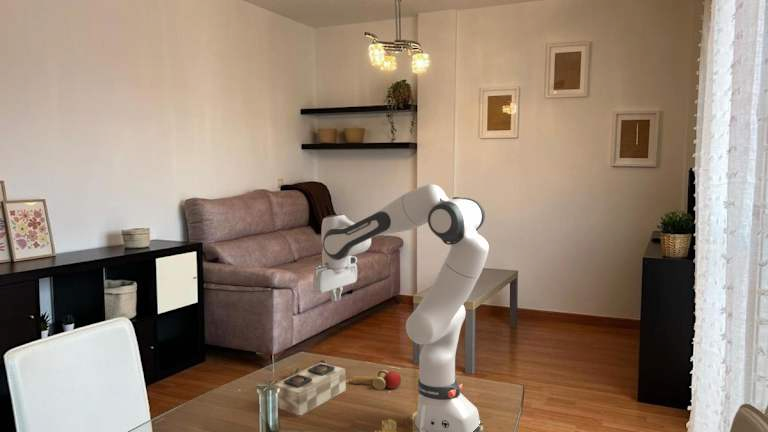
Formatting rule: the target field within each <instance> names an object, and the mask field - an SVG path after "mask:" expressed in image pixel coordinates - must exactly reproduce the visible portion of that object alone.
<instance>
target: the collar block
mask: <svg viewBox="0 0 768 432" xmlns="http://www.w3.org/2000/svg"><path fill="white" fill-rule="evenodd" d="M316 363H317V364H316ZM316 363H315V364H313V365H312V366H309V367H307V368H305V369H302V370H303V371H300V372H298V373H296V374H294V375H292V376H290V375H289V376H288V377H286V378H284V379H281V380H280V381H278V382H276V383H275V382H274V383H273V384H272V386H273V385H277V386H279V387H280V392H279V405H280V408H282V409H284V410H287V411H289V412H292V413H295V414H297V415H296V416H298V415H301V416H303V415H305V414H307V413H309V412H310V411H312V410H314V409H315V408H317V407H319V406H321V405H323V404H324V403H326V402H327V401H329V400H331V399H333V398H336V396H338V395H340V394H342V393H344V392H345V391H347V384H346V383H347V380H346V368H344V367H339V366H337V365H336V366H335V365H333V364H332V365H331V364H329V363H328V364H327V363H321V362H320V363H318V362H316ZM320 366H325V367H327V369H326V370H324V371H318V370H316V368H317V367H320ZM298 377H301V378H304V381H302V382H300V383H295V382H292V379H294V378H298ZM289 412H288V413H289ZM292 413H291V414H292ZM295 414H294V415H295Z"/></svg>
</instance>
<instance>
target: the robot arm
mask: <svg viewBox="0 0 768 432" xmlns="http://www.w3.org/2000/svg"><path fill="white" fill-rule="evenodd" d="M485 219H486V213H485V209H484V207H483V206H482V204H481V203H480V202H478V201H477V200H475V199H471V198H470V197H469V198H468V197H459V196H458V197H457V196H454V197H453V198H449V197H448V196H447V195H446V193H445V191H444V189H442V188H441V187H440V186H439V185H437V184H434V183H429V184H425V185H422V186H419V187H416V188H414V189H412V190H409V191H408V192H406V193H404V194H402V195H399V197H397V198H396V199H394V200H392V201H391V202H389V203H388V204H387V205H385V206H384V207H382V208H380V209H378V210H377V211H376V212H374V213H372V214H371V215H369V216H367V217H366V218H363V219H362V220H359V221H357V222H353V221H351V220H350V219H349V218H348V217H347V216H346V215H345V214H343V213H339V214H333V215H327V216H325V217H324V218H323V219H322V221H321V222H322V223H321V231H320V232H321V235H320V236H321V244H322V250H321V259H322V260H321V262H322V264H318V265H317V266H316V268H315V269H314V271H313V272H314V273H313V276H312V277H313V278H312V290H313V292H314V293H317V294H324V293H327V292H328V293H329V295H330V296H331V301H332V302H336V301H340V300H341V297H342V295H341V294H342V293H343V289H344V287H345V286H348V285H352V284H354V283H356V282H357V280H358V265H357V264H356V263H358V258H357V256H356V255H358V254H362V253H365V252H367V251H368V250H369V249H370V248H371V245H372V242H373V238H375V237H378V236H383V235H388V234H396V233H401V232H405V231H410V230H413V229H416V228H418V227H421V226H423V225H425V224H428V227H429V229H430V230H431V232H432V233H433V234H434V235H435V236H437V237H438V238H439V239H440V240H441V241H442V242H443V243H444V244H445V245H448V246H450V250H449V252H448V254H447V256H446V258H445V260H444V262H443V264H442V266H441V268H440V271H439V272H438V273H437V274H438V275H437V277H436V279H435V281H434V282H433V284H432V285H431V287H429V289H428V290H427V292H426V293H425V295H424V296H423V298H422V299H421V300H420V302H419V304H418V305H417V306H416V308H415V310H414V311H412V313H411V314H410V315H409V316H408V317H407V320H406V321H405V331H406V333H407V336H408V338H409V339H410V340H411V341H412V342H413V343H415V344H417V345H423V346H422V349H421V350H420V353H419V357H418V358H419V359H418V360H419V361H418V362H419V365H418V366H419V367H418V369H419V373H418V374H419V378H417V379H418V380H417V383H418V384H417V392H418V404H417V412H416V416H415V419H414V425H415V427H416V428H417V429H418V432H473V431H474V430H475V429H476V428H477V427H478V426H479V424H480V421H481V420H480V415H479V410H478V408H477V406H475V405H474V404H473V403H472V402H471V401H469V400H468V398H467V397H465V395H464V394H462V392H461V389H462V388H463V383H461V384H458V381H457V379H456V355H457V354H456V353H457V349H458V344H459V338H460V334H461V329H462V326H463V323H464V322H465V319H466V307H465V305H464V304H465V302H467V300H468V299H469V298H470V295H471V294H472V292H473V289H474V287H475V286H476V284H477V281H478V279H479V278H480V276H481V274H482V271H483V269H484V267H485V264H486V261H487V258H488V256H489V251H490V247H489V246H490V245H489V243H488V241H487V240H486V238H485V237H483V236H482V235H480V234H479V233H478V232H477V231H478V230H479V229H480V228H481V227H482V226H483V224H484V222H485Z"/></svg>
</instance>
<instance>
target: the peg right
mask: <svg viewBox="0 0 768 432" xmlns="http://www.w3.org/2000/svg"><path fill="white" fill-rule="evenodd" d="M326 369H327V367H325V366H320V367H317V368H316V370H318V371H324V370H326Z"/></svg>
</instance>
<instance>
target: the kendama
mask: <svg viewBox="0 0 768 432" xmlns="http://www.w3.org/2000/svg"><path fill="white" fill-rule="evenodd" d="M369 383H372V386H373V387H374V389H376V390H377V391H382V390H384V389H385V388H386V387H387V388H389V389H396V388H398V387H400V385H401V383H402V378H401V375H400V374H399V372H397V371H394V370H392V371H388V370H386V369H381V370H379V371H378V373H377V376H367V375H364V376H363V375H353V377H352V384H354V385H357V384H369Z"/></svg>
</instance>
